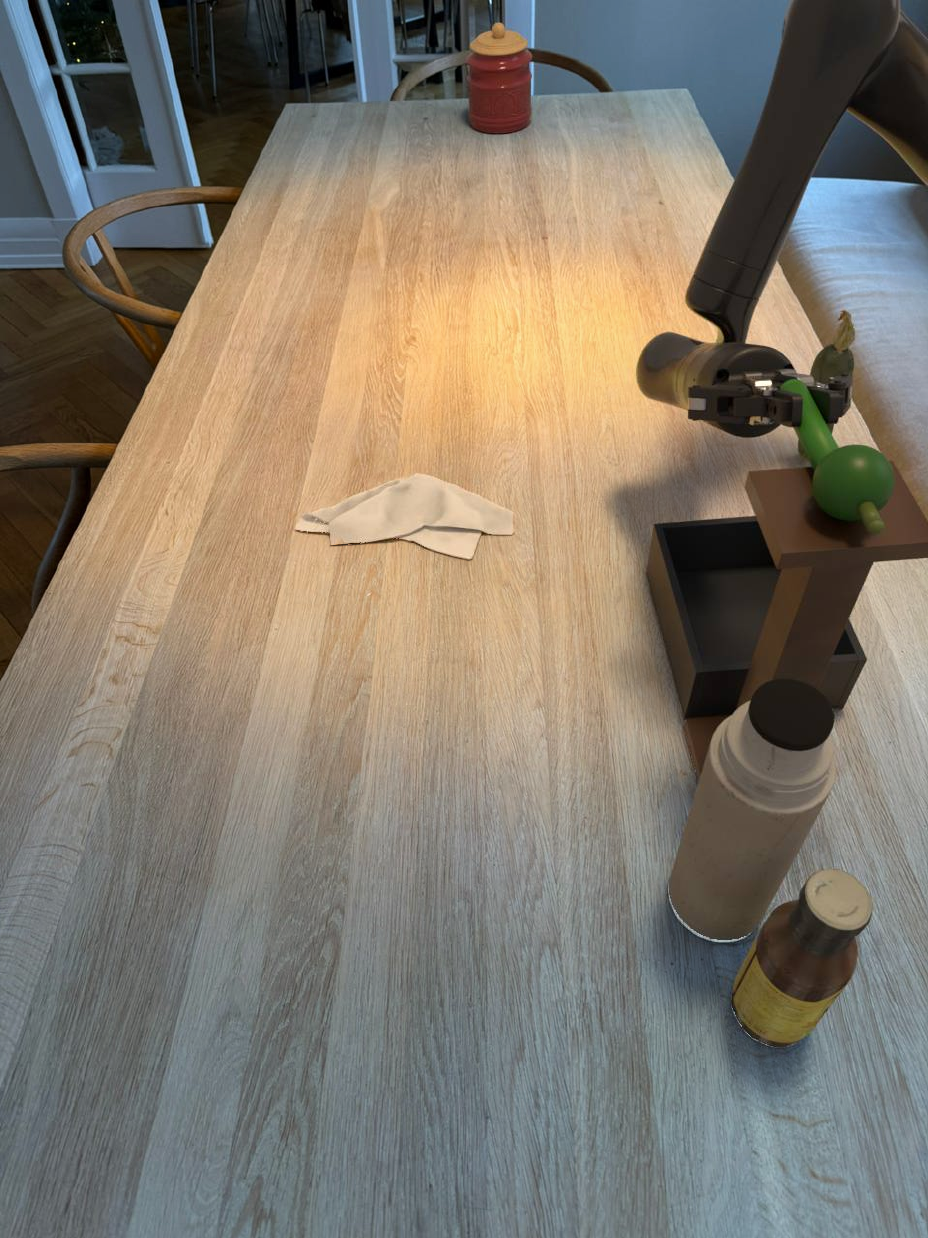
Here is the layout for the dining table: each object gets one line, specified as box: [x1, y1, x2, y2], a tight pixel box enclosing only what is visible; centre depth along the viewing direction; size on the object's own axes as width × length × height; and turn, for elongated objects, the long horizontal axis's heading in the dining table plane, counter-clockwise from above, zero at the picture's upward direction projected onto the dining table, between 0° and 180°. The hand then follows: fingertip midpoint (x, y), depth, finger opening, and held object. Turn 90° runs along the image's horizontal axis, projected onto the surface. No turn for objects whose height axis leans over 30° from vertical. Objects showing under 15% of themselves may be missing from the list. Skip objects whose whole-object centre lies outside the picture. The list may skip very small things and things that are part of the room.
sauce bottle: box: [730, 868, 874, 1048], centre depth 61 cm, size 6×6×20 cm
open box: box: [645, 515, 868, 721], centre depth 89 cm, size 16×20×8 cm
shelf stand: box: [683, 460, 928, 783], centre depth 70 cm, size 10×8×32 cm
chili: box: [780, 379, 895, 535], centre depth 59 cm, size 5×17×5 cm, turn 3°
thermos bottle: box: [668, 679, 837, 940], centre depth 63 cm, size 8×8×28 cm
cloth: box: [294, 472, 515, 561], centre depth 106 cm, size 26×14×2 cm, turn 77°
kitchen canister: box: [465, 22, 533, 134], centre depth 175 cm, size 13×13×18 cm
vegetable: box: [797, 309, 856, 461], centre depth 101 cm, size 4×4×20 cm
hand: (816, 410), depth 61 cm, fingers closed on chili
